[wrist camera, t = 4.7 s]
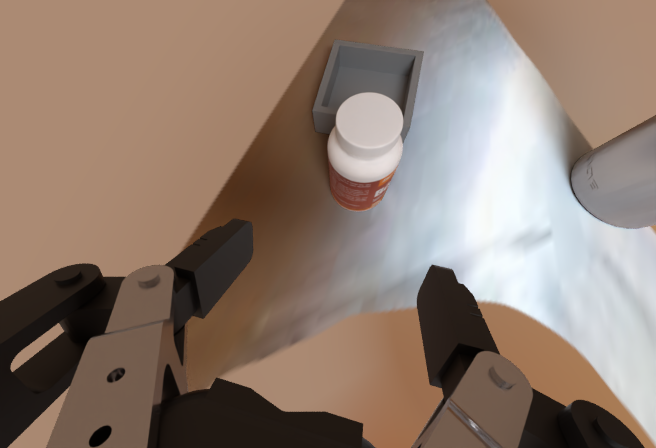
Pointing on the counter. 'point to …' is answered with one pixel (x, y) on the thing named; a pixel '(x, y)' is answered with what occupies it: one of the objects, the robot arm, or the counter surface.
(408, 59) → the charcoal bin
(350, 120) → the pill bottle
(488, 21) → the counter surface
